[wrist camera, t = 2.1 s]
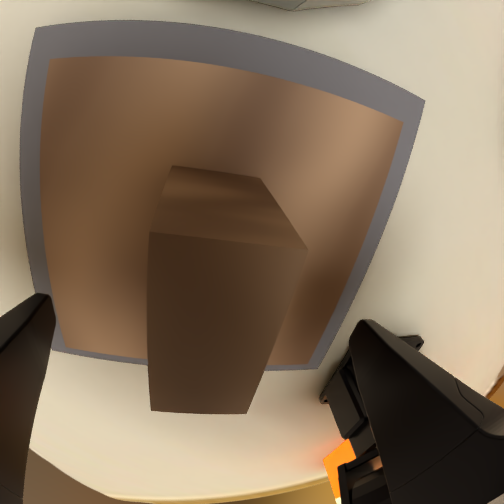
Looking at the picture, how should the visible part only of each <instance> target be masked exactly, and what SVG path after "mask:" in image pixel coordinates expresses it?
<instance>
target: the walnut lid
mask: <svg viewBox="0 0 504 504" xmlns="http://www.w3.org/2000/svg"><path fill="white" fill-rule="evenodd" d="M403 123H404V122H402V121H400V120H397V119H395V118H393V117H391V116H388V115H386V114H384V113H381V112H379V111H376V110H374V109H371V108H369V107H366V106H364V105H361V104H359V103H356V102H353V101H351V100H348V99H345V98H342V97H339V96H337V95H334V94H331V93H328V92H325V91H321V90H318V89H315V88H312V87H309V86H305V85H302V84H298V83H295V82H291V81H287V80H284V79H280V78H276V77H272V76H268V75H263V74H259V73H255V72H250V71H245V70H240V69H235V68H230V67H224V66H218V65H212V64H205V63H198V62H191V61H182V60H173V59H162V58H148V57H127V56H89V57H68V58H55V59H50V61H49V67H48V73H47V79H46V85H45V93H44V101H43V111H42V122H41V138H40V197H41V214H42V226H43V236H44V244H45V252H46V259H47V266H48V272H49V278H50V283H51V288H52V293H53V298H54V303H55V308H56V312H57V316H58V320H59V324H60V328H61V332H62V336H63V339H64V343H65V346H66V347H68V348H73V349H78V350H84V351H90V352H96V353H103V354H109V355H117V356H124V357H132V358H141V359H148V377H149V393H150V405H151V411H161V412H174V413H193V414H247V411H248V409H249V407H250V404H251V402H252V399H253V397H254V395H255V392H256V390H257V387H258V385H259V382H260V380H261V378H262V375H263V373H264V370H265V368H266V365H300V364H308V363H309V361H310V359H311V357H312V355H313V353H314V351H315V349H316V347H317V345H318V343H319V341H320V339H321V337H322V335H323V333H324V331H325V329H326V327H327V325H328V323H329V320H330V318H331V316H332V314H333V312H334V310H335V308H336V306H337V303H338V301H339V299H340V297H341V295H342V292H343V290H344V288H345V286H346V283H347V281H348V279H349V276H350V274H351V272H352V269H353V267H354V264H355V262H356V260H357V257H358V255H359V252H360V250H361V247H362V245H363V242H364V240H365V237H366V235H367V232H368V229H369V227H370V224H371V222H372V219H373V216H374V213H375V211H376V208H377V205H378V202H379V199H380V197H381V194H382V191H383V188H384V185H385V182H386V179H387V176H388V173H389V170H390V167H391V163H392V160H393V157H394V154H395V150H396V147H397V144H398V140H399V137H400V133H401V130H402V126H403Z"/></svg>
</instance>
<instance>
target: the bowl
mask: <svg viewBox="0 0 504 504" xmlns="http://www.w3.org/2000/svg"><path fill="white" fill-rule="evenodd" d="M250 1H254V2H259V3H263V4H267V5H271V6H275V7H279V8H282V9H286V10H289V11H297V10H304V9H312V8H322V7H333V6H348V5H360V4H363V3H365V2H368V1H370V0H250Z"/></svg>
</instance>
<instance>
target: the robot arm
mask: <svg viewBox="0 0 504 504" xmlns="http://www.w3.org/2000/svg"><path fill="white" fill-rule="evenodd" d="M55 327H56V315H55V311H54V307H53V302H52V298H51V296H50V295H49V294H44V293H36V294H34V295H32V296H31V297H29V298H28V299H26V300H25V301H23V302H22V303H20V304H19V305H17V306H16V307H14V308H13V309H11V310H10V311H8V312H7V313H6V314H4V315H3V316H1V317H0V504H23V499H22V498H23V489H24V479H25V470H26V463H27V456H28V450H29V444H30V438H31V433H32V428H33V423H34V418H35V414H36V409H37V405H38V401H39V397H40V393H41V389H42V385H43V382H44V378H45V374H46V370H47V365H48V360H49V355H50V350H51V345H52V340H53V336H54V331H55ZM423 343H424V341H423V339H422V338H421V337H420V336H419V337H408V338H398V337H397V336H395V335H394V334H392V333H391V332H390V331H388V330H387V329H385V328H384V327H382V326H381V325H379V324H378V323H376V322H375V321H374V320H371V319H362V320H360V321H359V322H358V323H357V325H356V327H355V329H354V331H353V333H352V334H351V336H350V338H349V351H348V353H347V354H346V356H345V358H344V359H343V361H342V363H341V364H340V366H339V367H338V369H337V371H336V372H335V374H334V375H333V377H332V379H331V380H330V382H329V383H328V385H327V386H326V388H325V389H324V391H323V392H322V394H321V395H320V397H319V400H320V402H321V404H329V405H330V408H331V410H332V413H333V416H334V418H335V421H336V423H337V426H338V428H339V431H340V434H341V436H342V438H343V439H345V440H346V439H349V442H350V444H351V447H352V449H353V452H354V454H355V457H356V459H354V460H352V461H350V462H348V463H343V464H341V465H339V466H337V471H338V483H339V490H340V498H341V504H504V409H503V408H502V407H500V406H499V405H497V404H495V403H493V402H492V401H490V400H489V399H487V398H485V397H484V396H482V395H481V394H479V393H477V392H476V391H474V390H473V389H471V388H470V387H468V386H467V385H465V384H464V383H462V382H461V381H460V380H458V379H457V378H454V376H453V375H451V374H450V373H448V372H447V371H445V370H444V369H443V368H441V367H440V366H438V365H437V364H435V363H434V362H433V361H431V360H430V359H428V358H427V357H425V356H424V355H423V354H421V353H420V352H418V351H419V349H420V348H421V346H422V345H423Z"/></svg>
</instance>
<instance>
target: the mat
mask: <svg viewBox="0 0 504 504" xmlns="http://www.w3.org/2000/svg"><path fill="white" fill-rule="evenodd" d="M89 56H127V57H148V58H162V59H173V60H182V61H191V62H198V63H205V64H212V65H218V66H224V67H230V68H235V69H240V70H245V71H250V72H255V73H259V74H263V75H268V76H272V77H276V78H280V79H284V80H287V81H291V82H295V83H298V84H302V85H305V86H309V87H312V88H315V89H318V90H321V91H325V92H328V93H331V94H334V95H337V96H339V97H342V98H345V99H348V100H351V101H353V102H356V103H359V104H361V105H364V106H366V107H369V108H371V109H374V110H376V111H379V112H381V113H384V114H386V115H388V116H391V117H393V118H395V119H397V120H400V121H402V122H404V123H403V126H402V130H401V133H400V137H399V140H398V144H397V147H396V150H395V154H394V157H393V160H392V163H391V167H390V170H389V173H388V176H387V179H386V182H385V185H384V188H383V191H382V194H381V197H380V199H379V202H378V205H377V208H376V211H375V213H374V216H373V219H372V222H371V224H370V227H369V229H368V232H367V235H366V237H365V240H364V242H363V245H362V247H361V250H360V252H359V255H358V257H357V260H356V262H355V264H354V267H353V269H352V272H351V274H350V276H349V279H348V281H347V283H346V286H345V288H344V290H343V292H342V295H341V297H340V299H339V301H338V303H337V306H336V308H335V310H334V312H333V314H332V316H331V318H330V320H329V323H328V325H327V327H326V329H325V331H324V333H323V335H322V337H321V339H320V341H319V343H318V345H317V347H316V349H315V351H314V353H313V355H312V357H311V359H310V361H309V363H308V364H300V365H266V368H265V370H264V371H279V370H307V369H318V367H319V365H320V364H321V362H322V360H323V358H324V356H325V355H326V353H327V351H328V349H329V347H330V345H331V344H332V342H333V340H334V338H335V336H336V334H337V332H338V330H339V328H340V326H341V324H342V322H343V320H344V318H345V316H346V314H347V312H348V310H349V308H350V306H351V304H352V302H353V300H354V298H355V296H356V294H357V292H358V289H359V287H360V285H361V283H362V281H363V278H364V276H365V274H366V272H367V269H368V267H369V265H370V263H371V260H372V258H373V256H374V253H375V251H376V249H377V246H378V244H379V241H380V239H381V236H382V234H383V231H384V229H385V226H386V224H387V221H388V218H389V216H390V213H391V210H392V208H393V205H394V202H395V200H396V197H397V194H398V191H399V188H400V185H401V182H402V179H403V176H404V173H405V170H406V167H407V164H408V161H409V158H410V155H411V151H412V148H413V145H414V141H415V138H416V134H417V131H418V127H419V123H420V120H421V116H422V112H423V108H424V104H425V100H423V99H421V98H420V97H418V96H416V95H414V94H412V93H410V92H409V91H407V90H405V89H403V88H401V87H399V86H397V85H395V84H393V83H391V82H389V81H387V80H384V79H382V78H380V77H378V76H376V75H374V74H371V73H369V72H367V71H364V70H362V69H360V68H357V67H355V66H352V65H350V64H347V63H345V62H342V61H340V60H337V59H334V58H332V57H329V56H326V55H323V54H320V53H317V52H314V51H311V50H308V49H305V48H302V47H299V46H295V45H292V44H288V43H285V42H281V41H277V40H274V39H270V38H266V37H262V36H257V35H253V34H248V33H243V32H238V31H233V30H228V29H222V28H216V27H209V26H202V25H195V24H186V23H176V22H163V21H143V20H107V21H88V22H75V23H66V24H58V25H50V26H44V27H38V28H36V29H35V33H34V37H33V41H32V46H31V51H30V56H29V61H28V66H27V72H26V79H25V86H24V94H23V103H22V114H21V129H20V187H21V202H22V214H23V223H24V232H25V239H26V246H27V252H28V258H29V264H30V269H31V274H32V279H33V284H34V288H35V293H44V294H49V295H50V296H51V298H52V302H53V307H54V311H55V315H56V327H55V331H54V336H53V340H52V345H51V349H52V350H54V351H59V352H64V353H69V354H74V355H79V356H85V357H91V358H97V359H104V360H110V361H117V362H125V363H133V364H142V365H148V359H141V358H132V357H124V356H117V355H109V354H103V353H96V352H90V351H84V350H78V349H73V348H68V347H66V346H65V343H64V339H63V336H62V332H61V328H60V324H59V320H58V316H57V312H56V308H55V303H54V298H53V293H52V288H51V283H50V278H49V272H48V266H47V259H46V252H45V244H44V236H43V226H42V214H41V197H40V138H41V122H42V111H43V101H44V93H45V85H46V79H47V73H48V67H49V61H50V59H55V58H68V57H89Z"/></svg>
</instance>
